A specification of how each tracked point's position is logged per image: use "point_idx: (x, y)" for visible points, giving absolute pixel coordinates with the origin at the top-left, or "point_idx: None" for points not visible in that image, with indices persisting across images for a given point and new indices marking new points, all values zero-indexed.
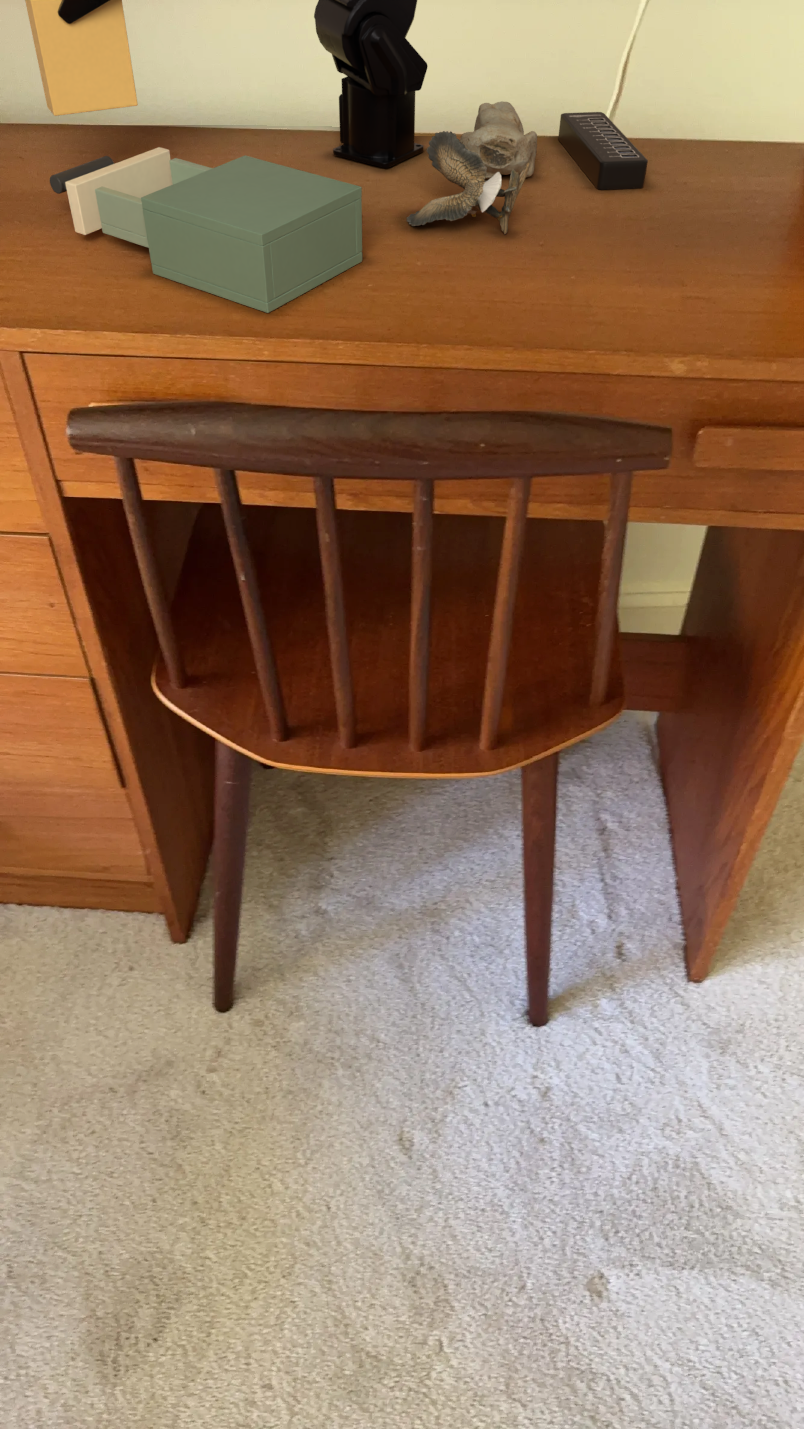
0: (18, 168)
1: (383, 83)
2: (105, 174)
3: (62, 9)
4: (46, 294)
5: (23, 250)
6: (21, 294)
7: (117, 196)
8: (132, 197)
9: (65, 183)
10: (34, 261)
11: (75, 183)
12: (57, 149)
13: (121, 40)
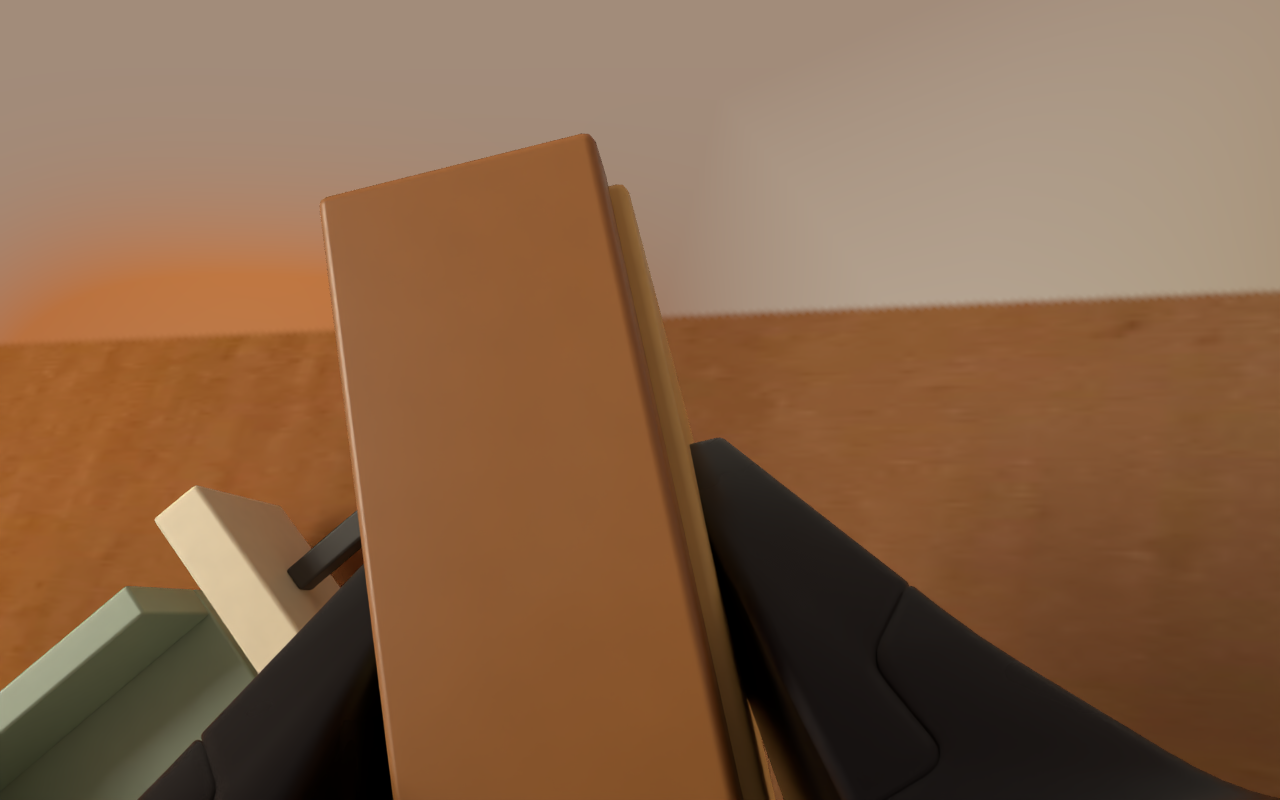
0: (1013, 321)
1: None
2: (232, 632)
3: None
4: (5, 424)
5: (299, 360)
6: (28, 364)
7: (36, 662)
8: (2, 716)
9: (194, 486)
10: (216, 391)
11: (164, 520)
12: (1224, 454)
13: None
